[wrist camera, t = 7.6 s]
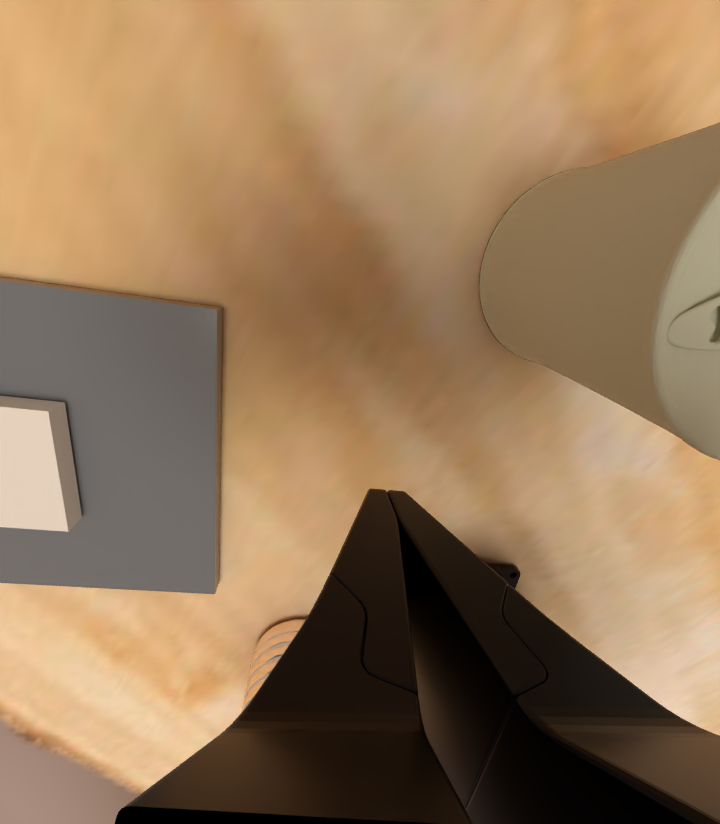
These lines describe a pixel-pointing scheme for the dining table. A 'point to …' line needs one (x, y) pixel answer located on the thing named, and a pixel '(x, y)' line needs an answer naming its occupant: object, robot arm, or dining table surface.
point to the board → (121, 434)
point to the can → (620, 282)
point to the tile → (36, 466)
